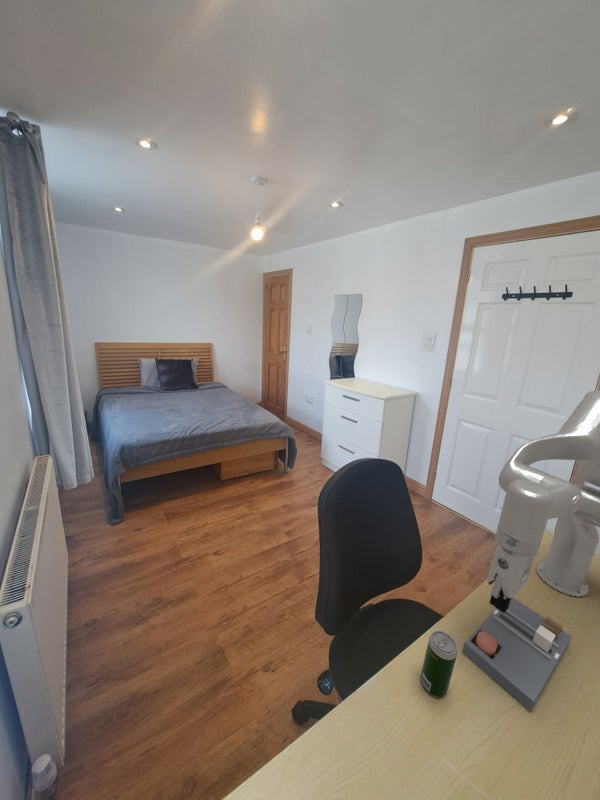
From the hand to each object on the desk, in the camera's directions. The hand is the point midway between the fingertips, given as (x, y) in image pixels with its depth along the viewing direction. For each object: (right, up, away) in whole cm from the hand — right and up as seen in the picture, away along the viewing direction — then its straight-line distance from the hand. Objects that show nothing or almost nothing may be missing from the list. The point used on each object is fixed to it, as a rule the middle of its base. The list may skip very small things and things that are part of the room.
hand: (498, 606), depth 71 cm
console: (+7, -13, +5) cm, 16 cm away
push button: (-1, -13, +3) cm, 13 cm away
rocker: (+17, -9, +6) cm, 20 cm away
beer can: (-16, -15, -4) cm, 22 cm away
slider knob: (+12, -11, +3) cm, 16 cm away
